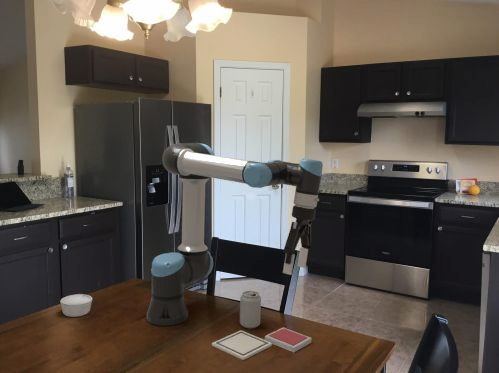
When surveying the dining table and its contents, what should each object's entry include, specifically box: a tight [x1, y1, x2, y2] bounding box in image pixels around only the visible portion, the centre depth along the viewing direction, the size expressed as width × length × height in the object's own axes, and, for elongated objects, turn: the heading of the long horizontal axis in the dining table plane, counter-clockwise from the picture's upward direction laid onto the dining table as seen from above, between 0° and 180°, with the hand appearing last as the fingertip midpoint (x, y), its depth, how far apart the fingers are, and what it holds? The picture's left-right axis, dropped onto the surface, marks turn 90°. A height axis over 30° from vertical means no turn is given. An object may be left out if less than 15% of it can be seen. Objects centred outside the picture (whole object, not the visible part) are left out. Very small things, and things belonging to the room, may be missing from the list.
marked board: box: [211, 330, 273, 361], centre depth 150 cm, size 14×14×1 cm
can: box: [239, 290, 262, 329], centre depth 166 cm, size 8×8×12 cm
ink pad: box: [264, 327, 312, 353], centre depth 154 cm, size 12×10×2 cm
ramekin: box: [59, 293, 93, 318], centre depth 174 cm, size 11×11×5 cm
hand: (294, 270), depth 151 cm, fingers open, 13 cm apart
